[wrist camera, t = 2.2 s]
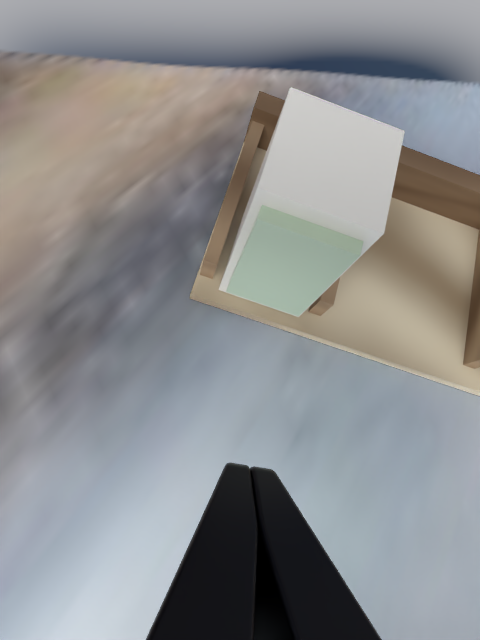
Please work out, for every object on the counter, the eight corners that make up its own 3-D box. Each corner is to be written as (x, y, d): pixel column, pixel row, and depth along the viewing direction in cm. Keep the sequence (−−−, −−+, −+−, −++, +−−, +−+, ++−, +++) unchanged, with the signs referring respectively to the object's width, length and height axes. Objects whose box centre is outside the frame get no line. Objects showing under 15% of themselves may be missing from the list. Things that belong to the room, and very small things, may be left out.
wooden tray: (562, 424, 22) (622, 419, 19) (189, 298, 20) (195, 272, 18) (568, 255, 25) (621, 229, 22) (246, 135, 23) (259, 90, 21)
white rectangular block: (296, 327, 20) (380, 248, 13) (214, 299, 20) (252, 202, 12) (317, 245, 22) (404, 131, 14) (241, 218, 21) (290, 86, 14)
